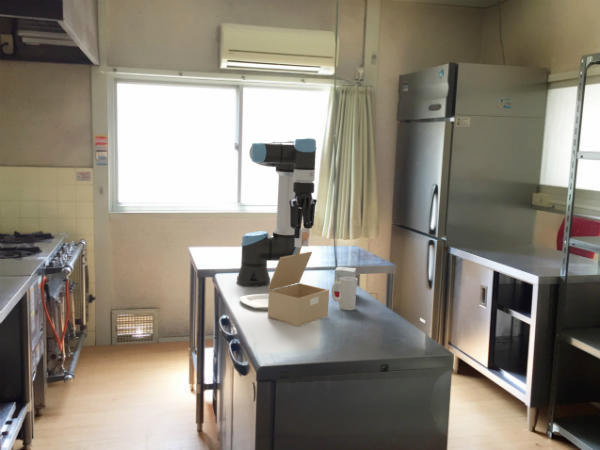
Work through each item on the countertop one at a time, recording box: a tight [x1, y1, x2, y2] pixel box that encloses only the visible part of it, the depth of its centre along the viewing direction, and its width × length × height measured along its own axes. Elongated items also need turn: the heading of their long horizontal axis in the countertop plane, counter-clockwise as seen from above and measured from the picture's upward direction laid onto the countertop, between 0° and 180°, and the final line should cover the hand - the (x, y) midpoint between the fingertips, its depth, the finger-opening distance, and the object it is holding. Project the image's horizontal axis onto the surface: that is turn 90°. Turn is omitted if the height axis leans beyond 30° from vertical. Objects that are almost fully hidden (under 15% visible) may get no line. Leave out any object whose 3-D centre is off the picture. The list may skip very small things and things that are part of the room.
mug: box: [330, 277, 358, 311], centre depth 222 cm, size 10×7×12 cm, turn 101°
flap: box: [267, 232, 313, 292], centre depth 208 cm, size 24×18×3 cm
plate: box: [239, 293, 269, 310], centre depth 224 cm, size 19×19×2 cm
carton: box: [267, 282, 330, 327], centre depth 208 cm, size 14×18×10 cm
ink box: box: [333, 266, 357, 298], centre depth 242 cm, size 9×9×12 cm
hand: (301, 246), depth 205 cm, fingers closed on flap, 3 cm apart
